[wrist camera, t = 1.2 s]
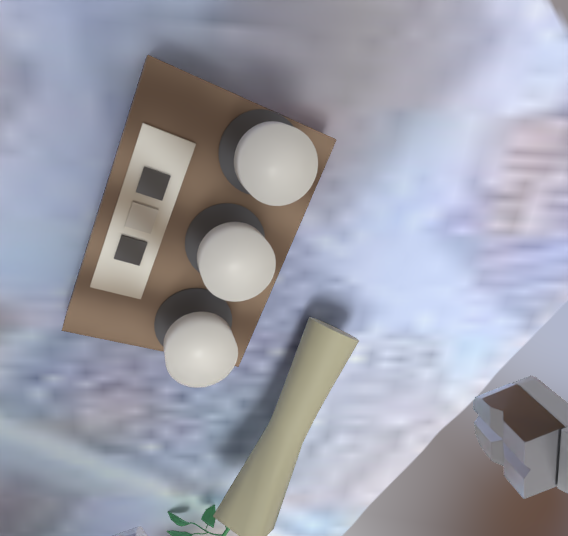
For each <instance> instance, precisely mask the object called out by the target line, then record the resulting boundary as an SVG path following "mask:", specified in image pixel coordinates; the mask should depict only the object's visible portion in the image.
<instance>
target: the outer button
mask: <svg viewBox="0 0 568 536" xmlns="http://www.w3.org/2000/svg"><path fill="white" fill-rule="evenodd" d="M234 168H235V173H236V175H237V178H238V180H239V182H240V183H241V184H242V186H243V187H244V188H245V189H246V190H247V191H248V192H249V193H250V194H251V195H252V196H253V197H254V198H255V199H256V200H258V201H260V202H262V203H264V204H267V205H271V206H283V205H288V204H291V203H293V202H295V201H297V200H299V199H300V198H301V197H303V196H304V195H305V194H306V193H307V192H308V190H309V189H310V188H311V186H312V184H313V182H314V180H315V178H316V174H317V170H318V157H317V152H316V149H315V147H314V145H313V143H312V141H311V140H310V139H309V137H308V136H307V135H306V134H305V133H304V132H302V131H301V130H299V129H297V128H295V127H292V126H290V125H287V124H284V123H281V122H276V121H269V122H263V123H260V124H257V125H255V126H254V127H252V128H251V129H249V130H248V131H247V132H246V133H245V134H244V135H243V136H242V138H241V139H240V141H239V143H238V145H237V147H236V150H235V155H234Z"/></svg>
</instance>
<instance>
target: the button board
mask: <svg viewBox="0 0 568 536" xmlns="http://www.w3.org/2000/svg"><path fill="white" fill-rule="evenodd" d="M269 121H276V122H281V123H284V124H287V125H290V126H292V127H295V128H297V129H299V130H301V131H302V132H304V133H305V134H306V135H307V136H308V137H309V139H310V140H311V141H312V143H313V145H314V147H315V149H316V152H317V157H318V170H317V174H316V178H315V180H314V182H313V184H312V186H311V188H310V189H309V190H308V192H307V193H306V194H305V195H304V196H303V197H301V198H300V199H299V200H297V201H295V202H293V203H291V204H288V205H283V206H271V205H267V204H264V203H262V202H260V201H258V200H256V199H255V198H254V197H253V196H252V195H251V194H250V193H249V192H248V191H247V190H246V189H245V188H244V187H243V186H242V184H241V183H240V182H239V180H238V178H237V175H236V173H235V168H234V155H235V150H236V147H237V145H238V143H239V141H240V139H241V138H242V136H243V135H244V134H245V133H246V132H247V131H248V130H249V129H251V128H252V127H254V126H255V125H257V124H260V123H263V122H269ZM335 142H336V139H334V138H332V137H330V136H327V135H325V134H323V133H321V132H319V131H316V130H314V129H312V128H310V127H307V126H305V125H303V124H301V123H299V122H296V121H294V120H292V119H290V118H287V117H285V116H283V115H281V114H278V113H276V112H274V111H272V110H270V109H267V108H265V107H263V106H261V105H258V104H256V103H254V102H252V101H250V100H247V99H245V98H243V97H241V96H238V95H236V94H234V93H232V92H230V91H227V90H225V89H223V88H221V87H218V86H216V85H214V84H212V83H210V82H207V81H205V80H203V79H201V78H198V77H196V76H194V75H192V74H190V73H187V72H185V71H183V70H181V69H178V68H176V67H174V66H172V65H170V64H167V63H165V62H163V61H161V60H158V59H156V58H154V57H152V56H150V55H147V57H146V60H145V63H144V66H143V69H142V73H141V76H140V79H139V82H138V85H137V89H136V92H135V95H134V98H133V101H132V105H131V108H130V111H129V114H128V117H127V121H126V124H125V127H124V130H123V133H122V136H121V140H120V143H119V146H118V149H117V152H116V156H115V159H114V162H113V165H112V168H111V172H110V175H109V178H108V181H107V184H106V187H105V191H104V194H103V197H102V200H101V203H100V207H99V210H98V213H97V216H96V219H95V223H94V226H93V229H92V232H91V235H90V239H89V242H88V245H87V248H86V251H85V254H84V258H83V261H82V264H81V267H80V270H79V274H78V277H77V280H76V283H75V286H74V290H73V293H72V296H71V299H70V302H69V305H68V309H67V312H66V316H65V320H64V324H63V328H62V331H66V332H71V333H76V334H80V335H85V336H90V337H95V338H100V339H105V340H110V341H115V342H120V343H125V344H130V345H134V346H139V347H144V348H149V349H154V350H159V351H164V338H165V335H166V332H167V331H168V329H169V327H170V326H171V325H172V324H173V323H174V322H175V321H176V320H178V319H179V318H181V317H182V316H184V315H187V314H190V313H193V312H210V313H213V314H216V315H218V316H220V317H221V318H223V319H224V320H225V321H226V322H227V323H228V325H229V326H230V328H231V331H232V333H233V336H234V339H235V341H236V344H237V347H238V358H237V361H236V364H235V366H237V367H239V364H240V362H241V360H242V357H243V355H244V353H245V350H246V348H247V346H248V343H249V341H250V339H251V336H252V334H253V332H254V329H255V327H256V325H257V323H258V320H259V318H260V316H261V313H262V311H263V309H264V306H265V304H266V302H267V299H268V297H269V295H270V292H271V290H272V288H273V286H274V283H275V281H276V279H277V276H278V274H279V272H280V269H281V267H282V265H283V262H284V260H285V258H286V255H287V253H288V251H289V249H290V246H291V244H292V242H293V239H294V237H295V235H296V232H297V230H298V228H299V225H300V223H301V221H302V218H303V216H304V214H305V211H306V209H307V207H308V205H309V202H310V200H311V198H312V195H313V193H314V191H315V188H316V186H317V184H318V181H319V179H320V177H321V174H322V172H323V170H324V168H325V165H326V163H327V161H328V158H329V156H330V154H331V151H332V149H333V147H334V144H335ZM227 222H242V223H246V224H249V225H251V226H253V227H254V228H256V229H257V230H258V231H259V232H260V233H261V234H262V235H263V237H264V238H265V239H266V240H267V242H268V243H269V244H270V246H271V247H272V249H273V251H274V254H275V259H276V268H275V273H274V276H273V278H272V280H271V282H270V283H269V285H268V286H267V287H266V288H265V289H264V290H263V291H262V292H261V293H260V294H258V295H257V296H255V297H253V298H251V299H248V300H245V301H238V302H233V301H226V300H223V299H220V298H218V297H216V296H215V295H213V294H212V293H211V292H210V291H209V290H208V289H207V287H206V286H205V284H204V282H203V280H202V277H201V274H200V271H199V268H198V264H197V251H198V248H199V245H200V243H201V241H202V239H203V238H204V237H205V235H206V234H207V233H208V232H209V231H210V230H212V229H213V228H215V227H216V226H218V225H221V224H223V223H227Z"/></svg>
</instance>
